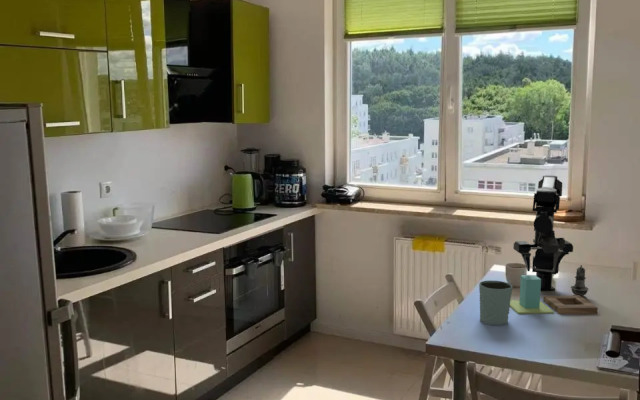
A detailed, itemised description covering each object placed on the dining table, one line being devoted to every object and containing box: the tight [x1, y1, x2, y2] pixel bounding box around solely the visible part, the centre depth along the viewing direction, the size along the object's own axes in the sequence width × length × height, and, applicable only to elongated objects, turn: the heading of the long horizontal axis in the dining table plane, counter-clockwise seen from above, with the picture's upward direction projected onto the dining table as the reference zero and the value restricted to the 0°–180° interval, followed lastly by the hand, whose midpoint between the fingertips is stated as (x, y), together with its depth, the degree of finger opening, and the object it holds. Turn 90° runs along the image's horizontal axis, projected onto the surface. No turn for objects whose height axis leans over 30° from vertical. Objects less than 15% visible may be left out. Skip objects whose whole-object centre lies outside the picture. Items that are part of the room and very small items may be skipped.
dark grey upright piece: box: [570, 265, 589, 300], centre depth 225 cm, size 6×6×12 cm
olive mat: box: [510, 299, 555, 315], centre depth 215 cm, size 12×12×1 cm
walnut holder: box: [542, 294, 599, 315], centre depth 216 cm, size 13×13×2 cm
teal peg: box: [519, 274, 542, 308], centre depth 214 cm, size 5×5×10 cm
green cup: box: [478, 279, 513, 327], centre depth 201 cm, size 10×10×12 cm
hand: (541, 270), depth 218 cm, fingers open, 9 cm apart
